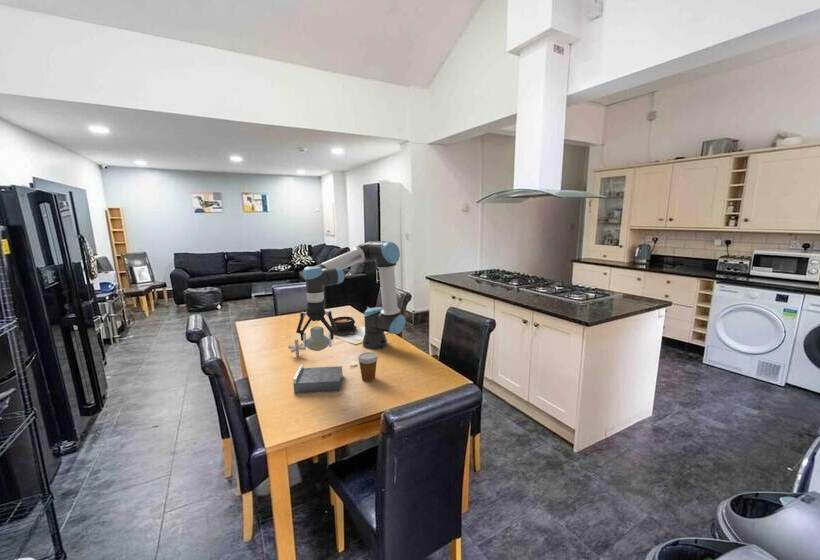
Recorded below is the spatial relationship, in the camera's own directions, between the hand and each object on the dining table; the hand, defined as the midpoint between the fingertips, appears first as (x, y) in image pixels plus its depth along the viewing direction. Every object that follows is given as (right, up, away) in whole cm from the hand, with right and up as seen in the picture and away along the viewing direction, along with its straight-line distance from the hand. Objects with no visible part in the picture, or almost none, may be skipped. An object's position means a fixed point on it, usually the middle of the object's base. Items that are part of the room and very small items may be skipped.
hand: (317, 346), depth 163 cm
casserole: (-3, -5, +79) cm, 80 cm away
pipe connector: (-21, -13, +36) cm, 44 cm away
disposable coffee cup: (+23, -17, +8) cm, 30 cm away
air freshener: (0, -1, 0) cm, 1 cm away
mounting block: (0, -18, +3) cm, 19 cm away
